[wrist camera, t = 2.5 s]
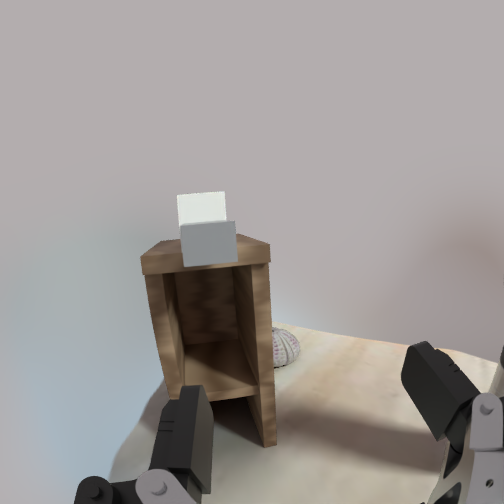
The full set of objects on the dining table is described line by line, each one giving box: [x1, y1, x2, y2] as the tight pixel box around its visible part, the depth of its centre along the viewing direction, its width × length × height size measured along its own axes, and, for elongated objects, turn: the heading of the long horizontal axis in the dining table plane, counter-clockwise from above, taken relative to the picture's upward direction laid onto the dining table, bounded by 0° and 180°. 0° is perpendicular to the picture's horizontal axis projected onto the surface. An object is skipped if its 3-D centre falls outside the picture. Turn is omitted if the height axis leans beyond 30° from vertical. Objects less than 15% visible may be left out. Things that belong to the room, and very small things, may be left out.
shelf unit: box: [141, 234, 277, 448], centre depth 41 cm, size 14×21×32 cm
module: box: [177, 192, 238, 267], centre depth 30 cm, size 5×21×6 cm, turn 12°
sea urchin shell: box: [272, 327, 300, 367], centre depth 65 cm, size 13×14×8 cm
